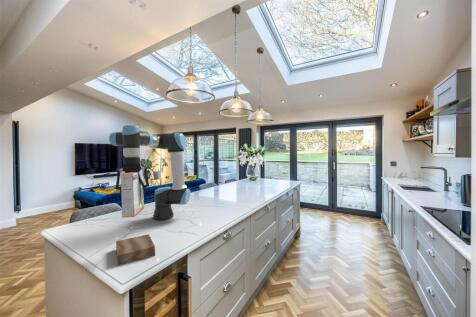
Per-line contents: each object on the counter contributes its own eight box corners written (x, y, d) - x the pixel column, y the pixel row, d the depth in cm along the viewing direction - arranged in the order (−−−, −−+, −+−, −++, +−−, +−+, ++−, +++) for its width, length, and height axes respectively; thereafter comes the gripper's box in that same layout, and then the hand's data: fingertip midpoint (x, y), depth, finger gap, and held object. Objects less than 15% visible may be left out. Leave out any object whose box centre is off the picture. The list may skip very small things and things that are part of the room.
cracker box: (132, 209, 112) (131, 170, 111) (144, 209, 112) (143, 170, 112) (120, 217, 98) (120, 173, 97) (134, 217, 98) (133, 173, 98)
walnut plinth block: (149, 242, 118) (148, 234, 117) (155, 256, 102) (154, 246, 102) (116, 250, 109) (116, 241, 109) (117, 266, 94) (117, 255, 94)
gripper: (107, 157, 96) (109, 206, 97) (154, 156, 106) (156, 201, 106) (108, 157, 102) (109, 203, 103) (152, 156, 112) (154, 198, 113)
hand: (133, 202), depth 105 cm, fingers closed on cracker box, 8 cm apart
